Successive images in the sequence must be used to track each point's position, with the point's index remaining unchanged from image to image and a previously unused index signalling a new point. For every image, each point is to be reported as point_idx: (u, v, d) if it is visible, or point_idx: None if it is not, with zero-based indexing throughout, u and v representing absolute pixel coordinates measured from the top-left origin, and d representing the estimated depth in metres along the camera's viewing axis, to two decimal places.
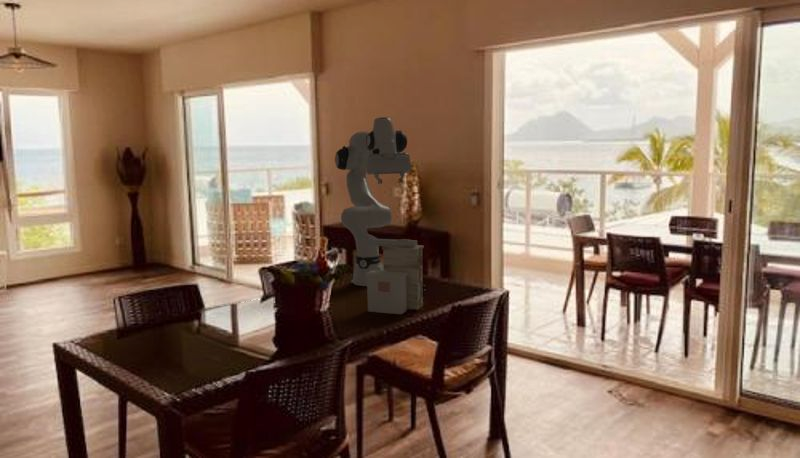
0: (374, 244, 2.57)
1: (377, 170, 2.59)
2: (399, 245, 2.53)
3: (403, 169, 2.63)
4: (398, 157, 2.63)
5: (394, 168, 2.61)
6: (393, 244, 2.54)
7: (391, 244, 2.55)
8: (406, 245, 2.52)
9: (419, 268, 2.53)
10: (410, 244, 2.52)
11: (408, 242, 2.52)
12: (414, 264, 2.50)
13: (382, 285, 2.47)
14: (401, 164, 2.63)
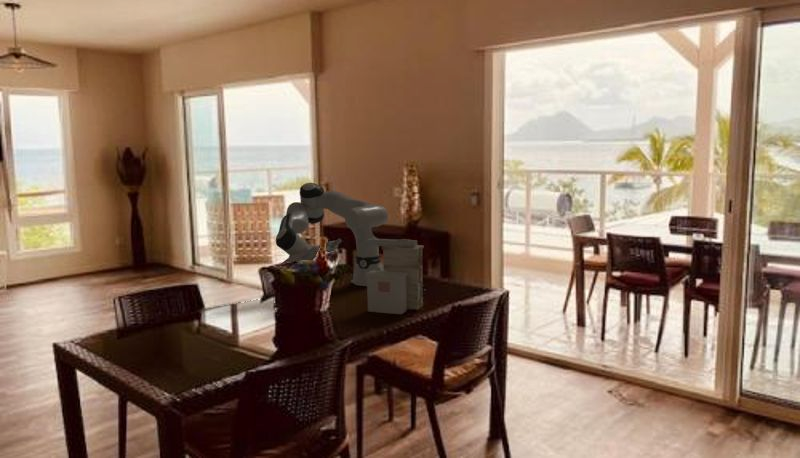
0: (374, 244, 2.57)
1: (333, 248, 2.72)
2: (399, 245, 2.53)
3: None
4: (313, 257, 2.65)
5: None
6: (393, 244, 2.54)
7: (391, 244, 2.55)
8: (406, 245, 2.52)
9: (419, 268, 2.53)
10: (410, 244, 2.52)
11: (408, 242, 2.52)
12: (414, 264, 2.50)
13: (382, 285, 2.47)
14: None
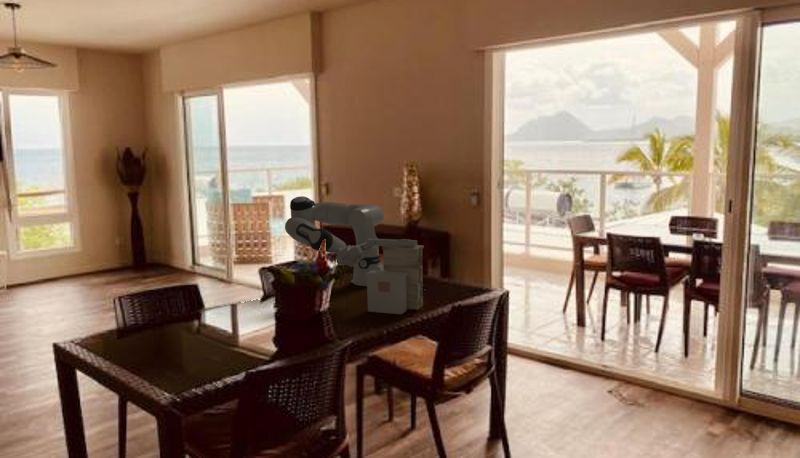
0: (374, 244, 2.57)
1: (373, 248, 2.66)
2: (399, 245, 2.53)
3: (362, 253, 2.55)
4: (353, 258, 2.59)
5: (365, 251, 2.59)
6: (393, 244, 2.54)
7: (391, 244, 2.55)
8: (406, 245, 2.52)
9: (419, 268, 2.53)
10: (410, 244, 2.52)
11: (408, 242, 2.52)
12: (414, 264, 2.50)
13: (382, 285, 2.47)
14: (358, 255, 2.56)
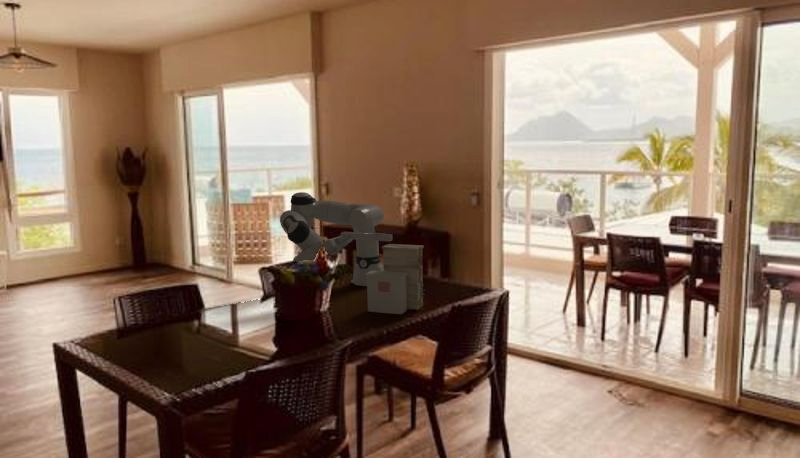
0: None
1: (348, 242, 2.59)
2: (374, 239, 2.47)
3: (335, 246, 2.49)
4: (327, 251, 2.52)
5: (339, 245, 2.53)
6: (368, 238, 2.48)
7: (366, 238, 2.48)
8: (381, 239, 2.46)
9: (419, 268, 2.53)
10: (384, 238, 2.45)
11: (383, 236, 2.45)
12: (414, 264, 2.50)
13: (382, 285, 2.47)
14: (332, 248, 2.50)
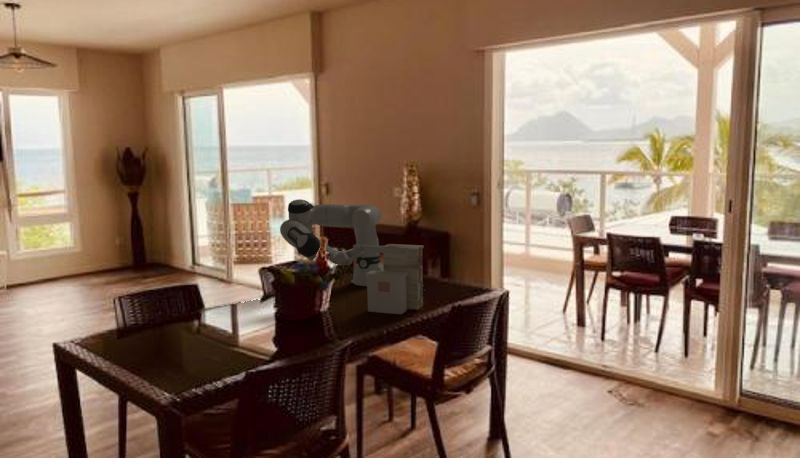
0: (361, 250, 2.50)
1: (360, 254, 2.58)
2: (386, 252, 2.46)
3: (348, 259, 2.47)
4: None
5: (352, 258, 2.51)
6: (380, 251, 2.47)
7: (378, 251, 2.47)
8: (394, 252, 2.45)
9: (419, 268, 2.53)
10: (397, 251, 2.44)
11: (396, 249, 2.44)
12: (414, 264, 2.50)
13: (382, 285, 2.47)
14: None
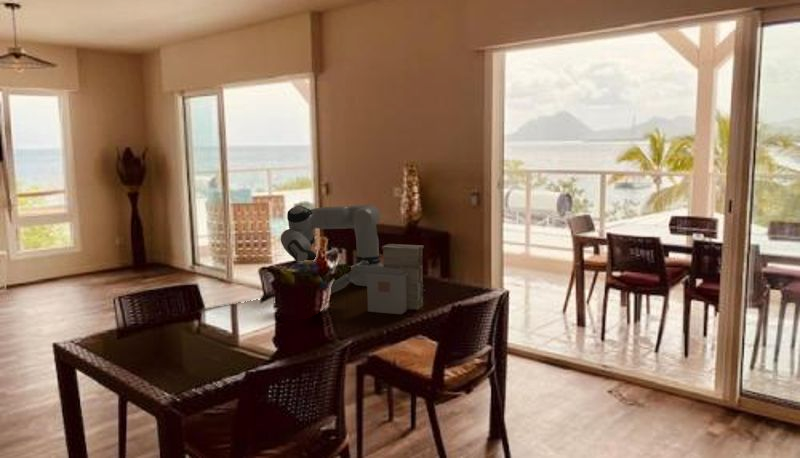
0: (361, 271, 2.51)
1: None
2: (387, 272, 2.47)
3: (349, 277, 2.48)
4: (340, 282, 2.52)
5: (352, 275, 2.52)
6: (381, 271, 2.48)
7: (379, 271, 2.48)
8: (394, 272, 2.46)
9: (419, 268, 2.53)
10: (398, 271, 2.45)
11: (396, 269, 2.45)
12: (414, 264, 2.50)
13: (382, 285, 2.47)
14: (345, 278, 2.50)
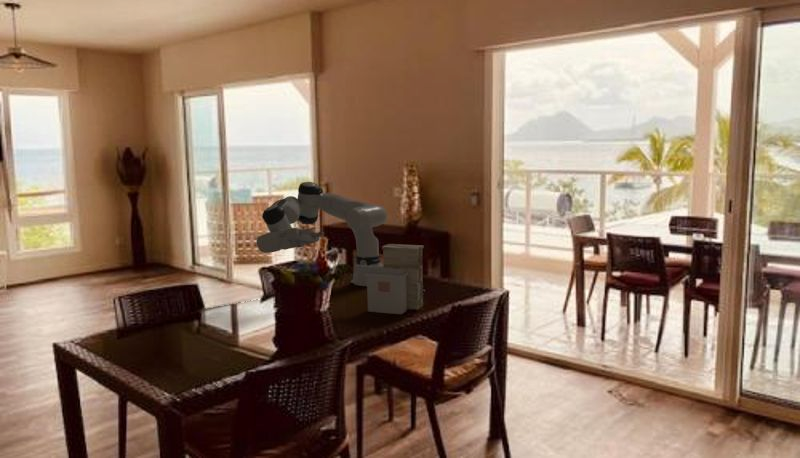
0: (361, 271, 2.51)
1: (314, 239, 2.64)
2: (387, 272, 2.47)
3: (299, 237, 2.53)
4: (290, 240, 2.57)
5: (303, 238, 2.57)
6: (381, 271, 2.48)
7: (379, 271, 2.48)
8: (394, 272, 2.46)
9: (419, 268, 2.53)
10: (398, 271, 2.45)
11: (396, 269, 2.45)
12: (414, 264, 2.50)
13: (382, 285, 2.47)
14: (295, 238, 2.54)
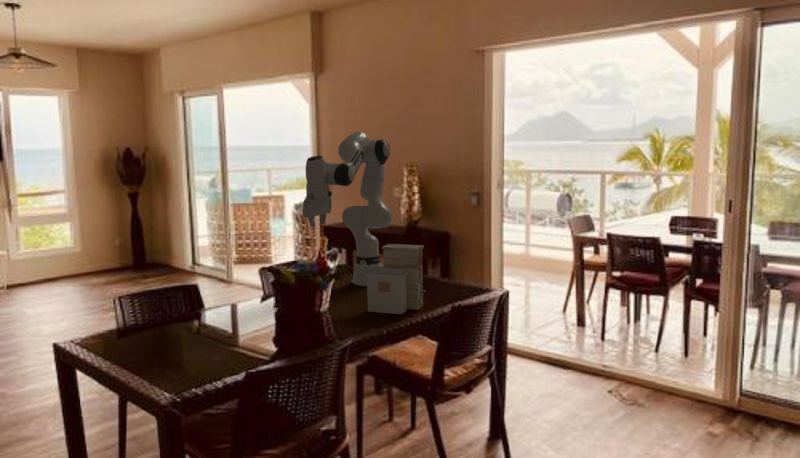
0: (361, 271, 2.51)
1: None
2: (387, 272, 2.47)
3: None
4: None
5: None
6: (381, 271, 2.48)
7: (379, 271, 2.48)
8: (394, 272, 2.46)
9: (419, 268, 2.53)
10: (398, 271, 2.45)
11: (396, 269, 2.45)
12: (414, 264, 2.50)
13: (382, 285, 2.47)
14: None
